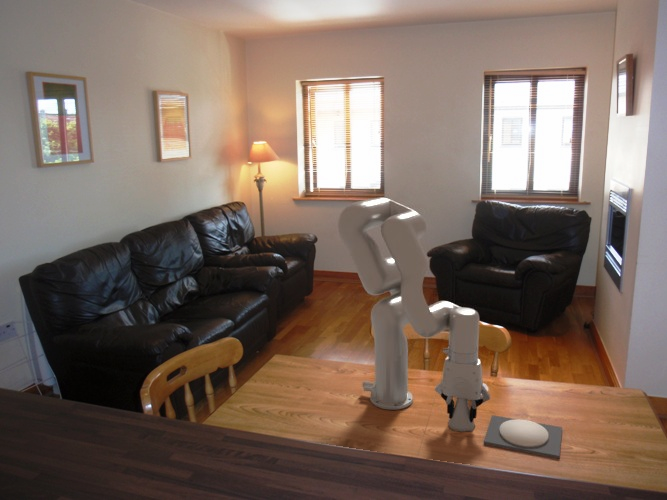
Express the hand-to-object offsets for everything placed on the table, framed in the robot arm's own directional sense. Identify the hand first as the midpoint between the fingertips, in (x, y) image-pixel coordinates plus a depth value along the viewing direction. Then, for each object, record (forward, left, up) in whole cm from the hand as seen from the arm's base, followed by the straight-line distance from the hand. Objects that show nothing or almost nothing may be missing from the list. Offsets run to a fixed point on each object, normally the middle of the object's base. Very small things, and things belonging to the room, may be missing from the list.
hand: (461, 417), depth 155 cm
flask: (0, 0, -3) cm, 3 cm away
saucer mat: (+16, 0, -2) cm, 16 cm away
